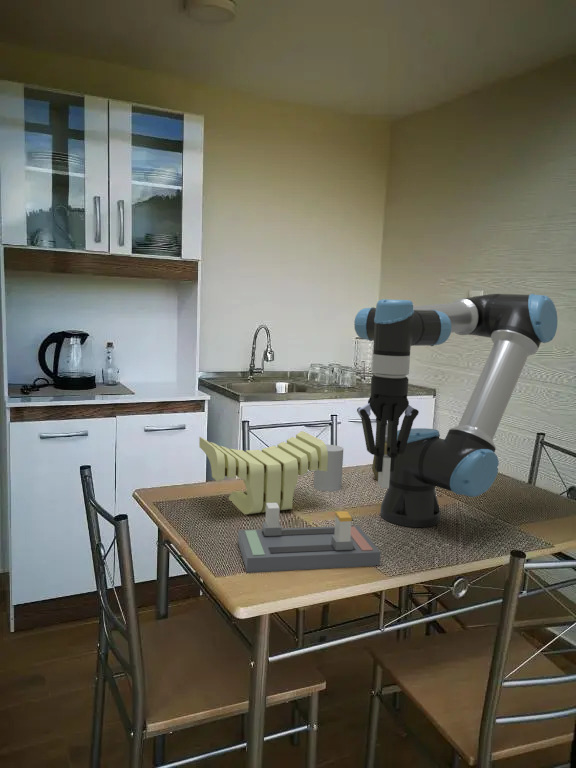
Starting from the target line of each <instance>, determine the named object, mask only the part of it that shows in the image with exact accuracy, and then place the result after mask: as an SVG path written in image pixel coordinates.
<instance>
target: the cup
mask: <svg viewBox="0 0 576 768" xmlns="http://www.w3.org/2000/svg"><path fill="white" fill-rule="evenodd" d="M325 445H326V447H327V451H328V465H327V472H326V471H321V470H319V469H318V470H316V471H313V472H314V473H313V474H314V475H313V488H314V489H315V490H317V491H320V490H321V492H325V491H328V492H327V493H332V492H334V491H335V492H339V491H341V490H342V481H343V464H344V462H343V461H344V447H342V446H340V445H335V444H325Z"/></svg>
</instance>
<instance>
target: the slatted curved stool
mask: <svg viewBox="0 0 576 768" xmlns="http://www.w3.org/2000/svg"><path fill="white" fill-rule="evenodd" d="M198 441H199V442H198V443H199V445H198V446H199V448H200V449H201V450H202V451H203V453H204V454H205V455H206V457H207V458H208V461H209V464H210V469H211V478H212V479H214V480H215V481H216V482H220V481H223V480H225V479H226V478H227V479H234V478H236V477H237V478H239V479H242V481H243V483H244V485H245V489H246V490H244V491H242V490H236V491H231V493H230V495H229V497H228V498H227V499H228V501H230V502H231V501H232V502H231V503H232V504H233V505H234V506H235V507H236V508H237V509H238V510H239V511H240V512H241V513H243V514H244V515H253V514H260V513H266V503H277V504H278V506H279V508H280V511H286V510H293V498H294V493H295V490H296V487H297V484H298V481H299V476H300V477H302V476H304V475H305V474H306V473H308V472H309V471H311V472H315V471H316V470H318V469H319V470H321V471H326V472H327V465H328V451H327V447H326V445H327V444H326V443H325V442H324V441H323V440H322V439H320V438H318V437H315V436H314V435H313V434H309V432H306V431H303V430H301V431H300V432H298V433H297V434H295V437H294V436H292V437H290V438H288V439H286V442H285V441H282V442H279V443H277V445H272V446H269V447H268V446H267V447H264V448H261V450H260V449H253V450H252V449H249V450H247V449H246V450H245V451H244V450H243V449H233V448H228V447H225V446H222V445H218V444H217V443H215V442H212V441H209V440H207V439H205V438H203V437H201V436H199V440H198Z"/></svg>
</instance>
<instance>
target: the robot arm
mask: <svg viewBox="0 0 576 768" xmlns="http://www.w3.org/2000/svg"><path fill="white" fill-rule="evenodd" d="M557 329H558V311H557V307H556V305H555V303H554V301H553V299H551V298H550V297H549V296H547V295H542V294H535V293H530V294H514V293H513V294H512V293H489V294H484V295H482V294H481V295H477V296H476V295H475V296H471V297H465V298H457V299H456V300H454V301H453V302H450V303H449V302H447V303H435V304H434V303H432V304H422V305H421V304H420V305H414V303H413V301H412V300H410V299H387V298H386V299H379V300H378V301H377V303H376V305H375V307H373V306H372V307H365V308H362V309H360V310H359V311H358V312H357V314H356V316H355V317H354V331H355V333H356V335H357V336H358V337H359V338H360V339H362V340H365V341H366V340H367V341H370V342H372V341H373V350H372V352H373V353H372V365H371V366H372V368H371V372H372V373H373V375H372V376H371V382H370V396H369V398H368V400H367V404H366V405H364V406H362V407H357V410H356V412H357V414H358V415H359V417H360V418H361V424H362V430H363V434H364V435H363V436H364V440H365V441H364V442H365V447H366V451H367V452H368V453H370V455H373V456H374V455H375V470H376V471H377V472H379V473H378V481H377V485H378V486H379V487H380V488H381V489H387V490H386V492H385V494H384V496H383V500H382V502H381V503H380V504H381V505H380V512H379V513H380V514H379V515H380V517H381V518H383V519H384V520H385V521H387V522H389V523H391V524H394V525H398V526H403V527H408V528H409V527H410V528H426V527H433V526H435V525H437V524H439V523H440V520H441V509H440V505H439V501H438V497H437V493H436V487H437V488H440V489H443V490H446V491H449V492H453V493H455V495H463V496H466V497H471V498H472V497H473V498H474V497H479V496H480V495H482V494H484V493H486V492H487V491H488V490H489V489H490V488H491V487H492V485H493V484H494V483H495V480H496V478H497V475H498V472H499V468H498V467H499V465H500V464H499V458H498V455H497V454H496V453H495V452H496V450H497V447H496V446H495V443H494V441H493V440H494V437H495V435H496V433H497V430H498V428H499V426H500V423H501V421H502V418H503V416H504V413H505V412H506V410H507V409H506V408H507V407H508V404H509V402H510V399H511V397H512V395H513V392H514V389H516V385H517V383H518V380H519V378H520V377H521V374H522V371H523V369H524V367H525V364H526V362H527V359H528V358H529V356H533V355H534V354H536V353H537V352H538V350H539V347H540V345H541V343H542V344H546V343H549V342H551V341H553V339H554V338H555V337H556V333H557ZM452 333H454V334H457V336H458V335H459V336H467V335H469V336H478V337H484V338H489V339H491V341H492V343H493V346H492V348H491V349H490V352H489V354H488V356H487V359H486V360H485V361H486V362H485V363H484V366H483V368H482V370H481V372H480V374H479V378H478V379H477V382H476V383H475V385H474V386H475V387H474V389H473V391H472V393H471V396H470V398H469V400H468V402H467V405H466V407H465V409H464V412H462V415H461V418H460V420H459V423H458V424H457V426H454V427H451V428H450V429H449V430H448V432H447V434H446V436H445V438H440V436H441V434H440V431H439V430H438V429H436V428H426V427H425V428H423V427H422V428H415V427H414V428H413V424H414V421H415V419H416V418H417V417H418V416H419V414H420V413H419V412H420V411H419V410H418V409H417V408H414V407H412V405H410V402H409V399H408V394H409V393H408V392H409V377H407V375H409V374H410V361H411V347H412V346H414V347H416V346H427V347H428V346H430V347H434V346H438V345H442V344H445V342H447V341H448V340H449V339H450V335H451V334H452ZM371 411H372V413H373V415H374V416H375V423H376V427H375V428H376V429H375V435H374V433H373V426H372V420H371V417H370V416H371ZM403 414H404V417H403V419H402V422H401V425H400V418H401V417H402V415H403ZM387 423H388V434H387V451H386V452H387V455H384V450H385V434H386V425H387ZM399 425H400V429H399V430H398V428H399ZM374 436H375V437H374Z"/></svg>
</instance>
